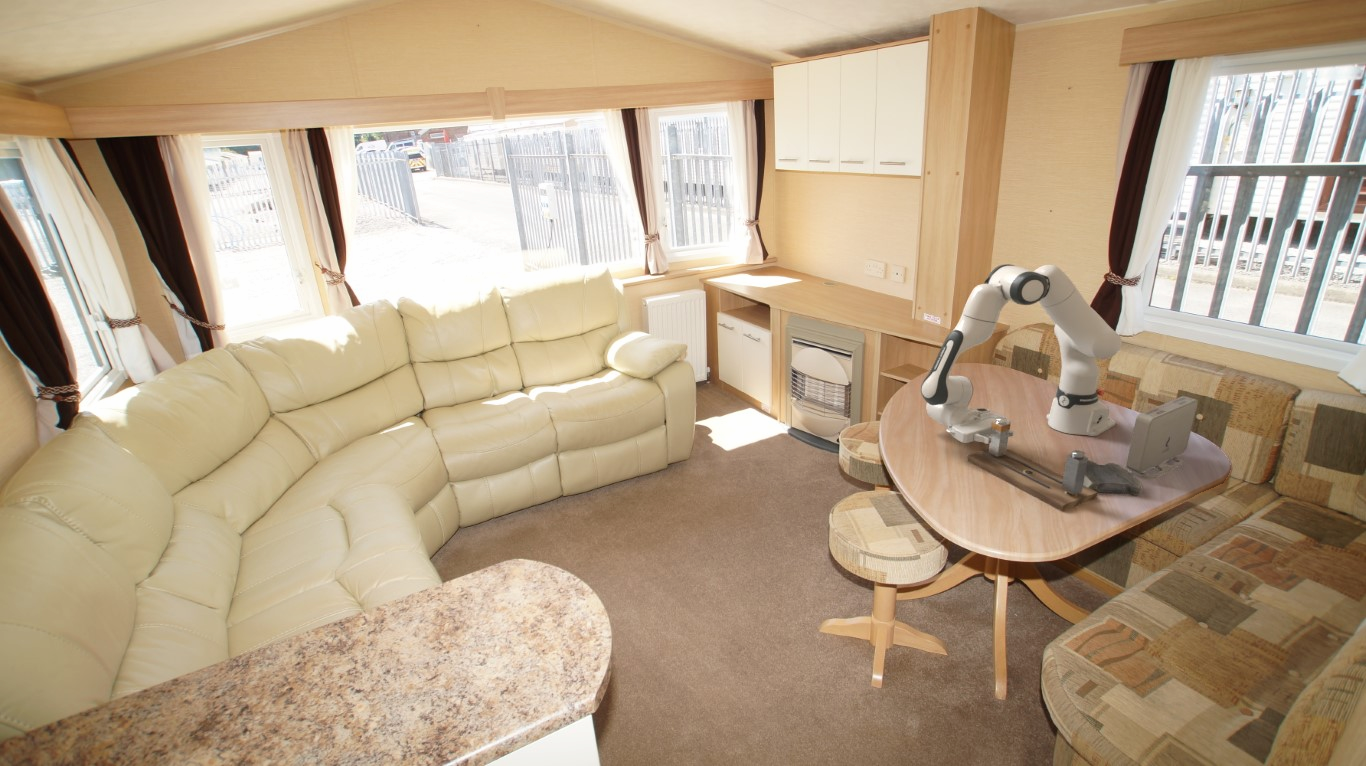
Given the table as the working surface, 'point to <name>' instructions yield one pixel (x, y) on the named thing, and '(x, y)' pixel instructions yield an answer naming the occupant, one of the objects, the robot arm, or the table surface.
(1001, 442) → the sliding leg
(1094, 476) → the fossil
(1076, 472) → the fixed leg
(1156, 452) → the network device
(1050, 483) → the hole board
